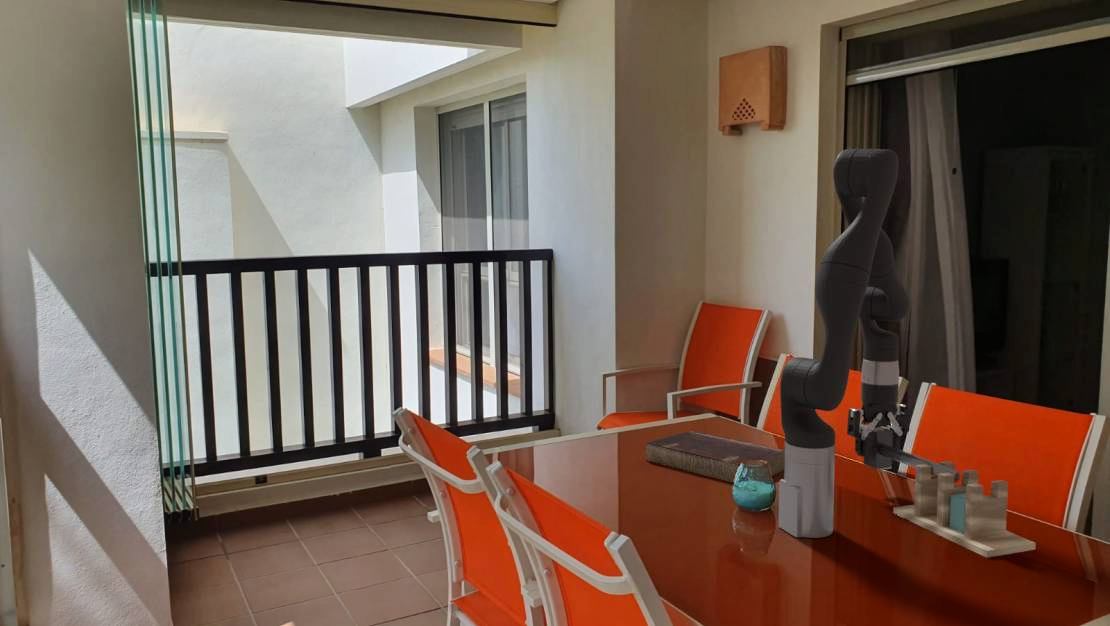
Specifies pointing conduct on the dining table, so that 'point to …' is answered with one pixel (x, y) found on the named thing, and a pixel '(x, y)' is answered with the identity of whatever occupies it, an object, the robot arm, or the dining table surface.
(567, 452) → the dining table surface
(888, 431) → the shaft
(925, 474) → the bracket
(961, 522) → the block
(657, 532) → the dining table surface
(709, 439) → the hardback book
